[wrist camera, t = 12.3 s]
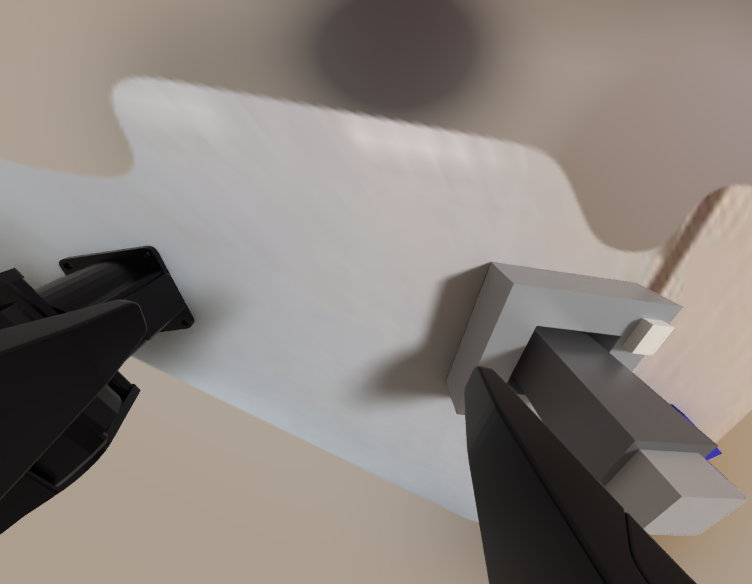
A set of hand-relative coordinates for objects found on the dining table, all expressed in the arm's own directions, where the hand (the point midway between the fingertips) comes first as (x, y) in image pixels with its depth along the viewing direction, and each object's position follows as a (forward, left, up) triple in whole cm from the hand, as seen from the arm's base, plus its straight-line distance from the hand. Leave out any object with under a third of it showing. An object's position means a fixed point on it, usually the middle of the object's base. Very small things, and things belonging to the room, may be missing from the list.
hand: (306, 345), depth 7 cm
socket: (+14, -12, -13) cm, 22 cm away
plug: (+14, -12, -13) cm, 22 cm away
